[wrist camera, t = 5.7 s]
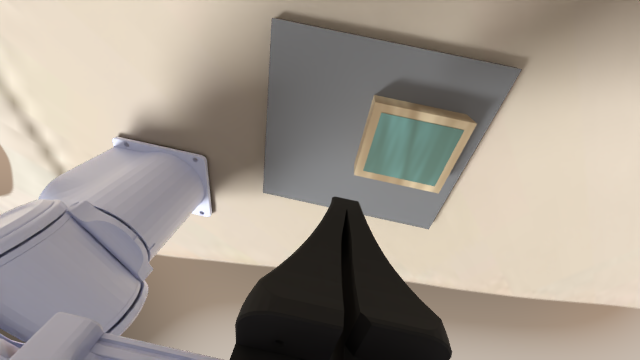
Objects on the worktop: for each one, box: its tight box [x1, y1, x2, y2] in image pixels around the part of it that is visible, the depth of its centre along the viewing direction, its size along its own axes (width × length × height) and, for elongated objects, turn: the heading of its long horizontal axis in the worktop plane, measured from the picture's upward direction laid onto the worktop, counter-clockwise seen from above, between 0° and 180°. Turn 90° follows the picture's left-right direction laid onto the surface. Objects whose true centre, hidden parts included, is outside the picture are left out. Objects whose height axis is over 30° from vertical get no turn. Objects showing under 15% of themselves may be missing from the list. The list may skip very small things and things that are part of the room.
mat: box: [263, 18, 522, 229], centre depth 21 cm, size 17×15×1 cm
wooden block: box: [354, 95, 477, 194], centre depth 19 cm, size 2×6×7 cm
